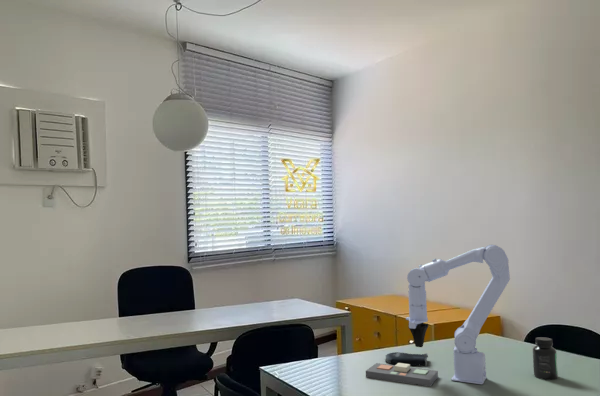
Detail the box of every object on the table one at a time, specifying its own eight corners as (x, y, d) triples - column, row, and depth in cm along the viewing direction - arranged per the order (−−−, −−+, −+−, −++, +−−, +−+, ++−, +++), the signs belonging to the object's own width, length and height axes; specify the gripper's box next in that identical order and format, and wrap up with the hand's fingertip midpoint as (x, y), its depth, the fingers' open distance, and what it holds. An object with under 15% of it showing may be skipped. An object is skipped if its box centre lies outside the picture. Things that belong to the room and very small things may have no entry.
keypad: (438, 377, 154) (437, 370, 154) (430, 386, 146) (429, 379, 146) (376, 368, 165) (376, 362, 165) (365, 377, 156) (365, 370, 156)
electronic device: (427, 364, 175) (386, 356, 179) (428, 349, 174) (387, 342, 178) (426, 375, 166) (383, 366, 170) (428, 360, 165) (384, 352, 169)
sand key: (410, 369, 157) (410, 364, 157) (406, 372, 153) (406, 367, 153) (398, 367, 159) (398, 362, 159) (394, 370, 155) (394, 365, 155)
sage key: (428, 375, 154) (428, 370, 154) (425, 379, 150) (425, 374, 150) (416, 373, 156) (416, 369, 156) (412, 377, 152) (412, 372, 152)
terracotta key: (392, 370, 160) (392, 365, 160) (388, 374, 156) (388, 369, 156) (381, 369, 162) (381, 364, 162) (377, 372, 158) (377, 367, 158)
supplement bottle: (562, 378, 150) (560, 339, 151) (546, 381, 148) (544, 342, 149) (545, 372, 157) (543, 335, 157) (529, 375, 154) (527, 337, 155)
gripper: (412, 300, 166) (413, 340, 165) (399, 307, 153) (400, 350, 152) (432, 302, 162) (434, 342, 161) (420, 308, 150) (422, 352, 149)
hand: (419, 346), depth 157 cm, fingers closed
